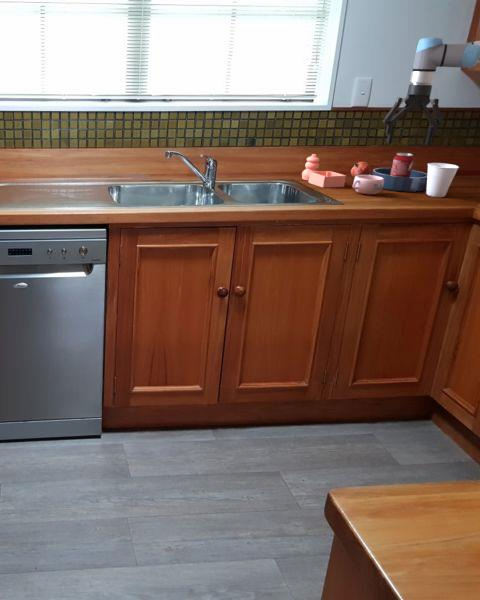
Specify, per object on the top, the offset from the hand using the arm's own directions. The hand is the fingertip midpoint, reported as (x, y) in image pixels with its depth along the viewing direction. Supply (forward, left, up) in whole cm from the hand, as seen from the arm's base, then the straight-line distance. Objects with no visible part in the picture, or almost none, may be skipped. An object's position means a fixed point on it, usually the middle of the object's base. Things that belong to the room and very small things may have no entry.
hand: (407, 143), depth 228 cm
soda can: (0, 0, -16) cm, 16 cm away
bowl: (0, 0, -16) cm, 16 cm away
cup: (-9, +12, -17) cm, 23 cm away
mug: (+16, +16, -17) cm, 28 cm away
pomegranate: (+12, -10, -13) cm, 20 cm away
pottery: (+29, -1, -17) cm, 34 cm away
